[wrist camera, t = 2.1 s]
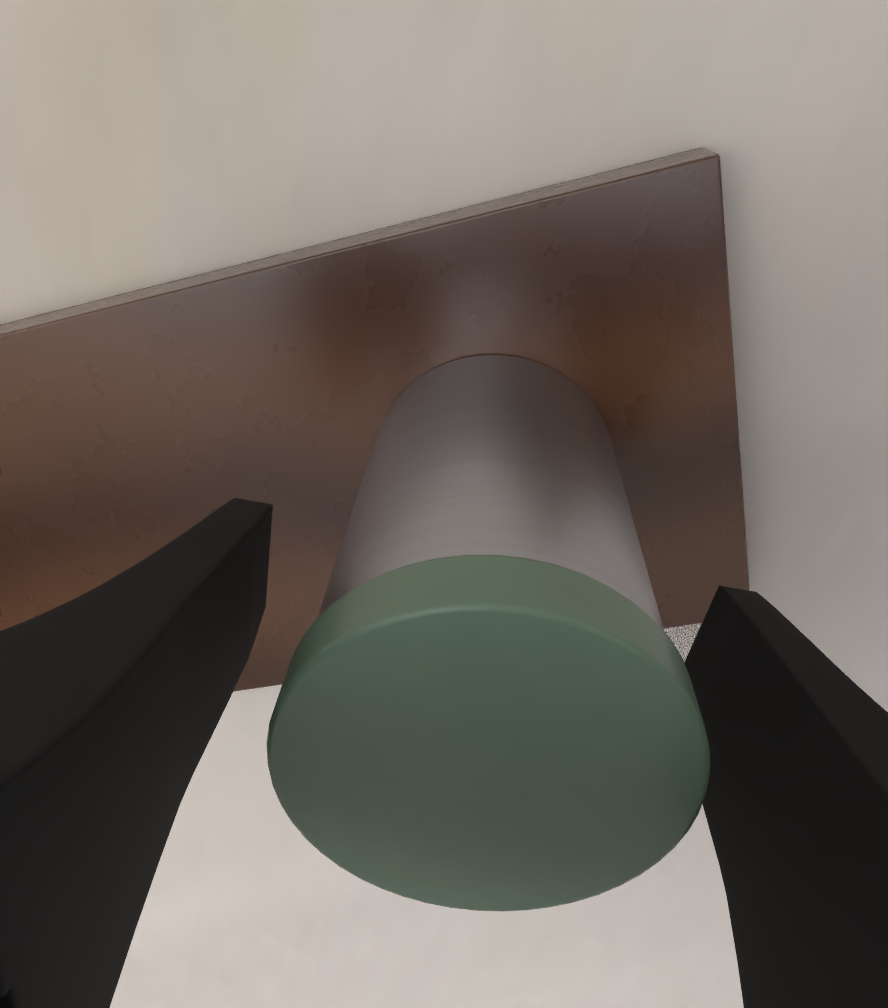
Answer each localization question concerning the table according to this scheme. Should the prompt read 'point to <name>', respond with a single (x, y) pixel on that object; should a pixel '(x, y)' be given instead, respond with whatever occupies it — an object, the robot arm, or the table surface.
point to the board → (377, 389)
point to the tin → (490, 660)
